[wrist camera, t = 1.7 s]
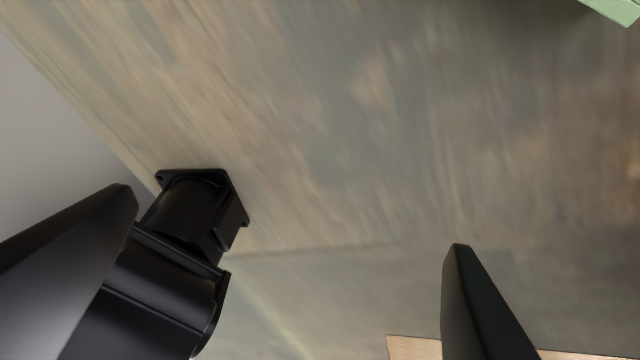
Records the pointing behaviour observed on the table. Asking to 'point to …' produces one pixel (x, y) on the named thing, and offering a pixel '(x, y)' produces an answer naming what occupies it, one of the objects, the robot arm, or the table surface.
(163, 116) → the table surface
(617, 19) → the tray
